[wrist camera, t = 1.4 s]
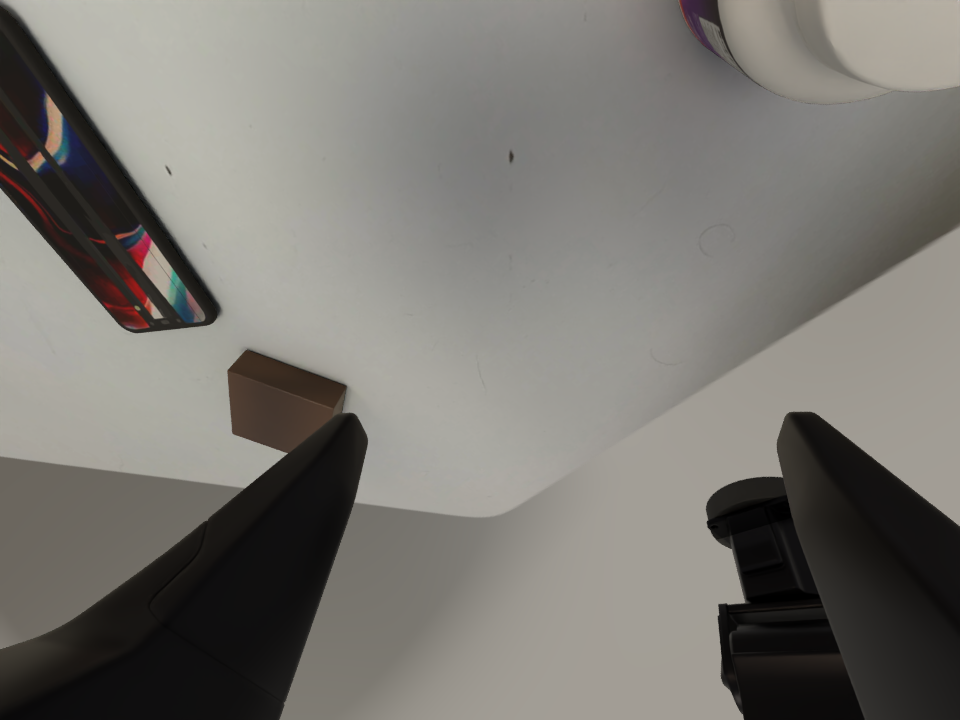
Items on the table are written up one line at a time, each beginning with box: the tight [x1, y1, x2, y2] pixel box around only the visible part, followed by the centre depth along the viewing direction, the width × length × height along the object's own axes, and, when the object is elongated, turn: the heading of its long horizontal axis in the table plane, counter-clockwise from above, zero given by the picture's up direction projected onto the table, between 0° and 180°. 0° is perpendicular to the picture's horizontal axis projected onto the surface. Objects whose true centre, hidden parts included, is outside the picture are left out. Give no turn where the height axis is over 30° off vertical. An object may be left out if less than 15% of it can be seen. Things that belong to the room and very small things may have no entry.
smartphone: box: [0, 6, 217, 333], centre depth 22 cm, size 7×1×15 cm
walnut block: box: [227, 350, 346, 453], centre depth 29 cm, size 6×6×2 cm
